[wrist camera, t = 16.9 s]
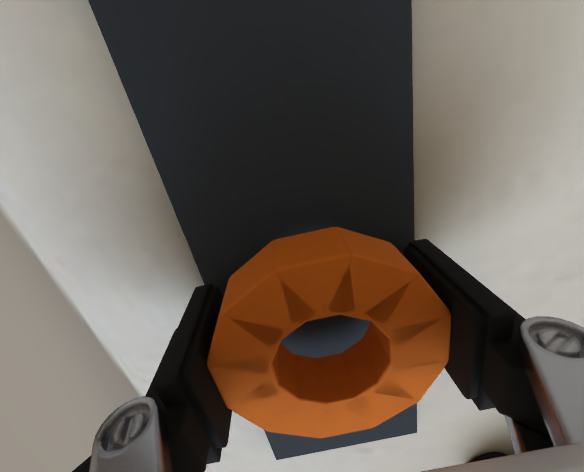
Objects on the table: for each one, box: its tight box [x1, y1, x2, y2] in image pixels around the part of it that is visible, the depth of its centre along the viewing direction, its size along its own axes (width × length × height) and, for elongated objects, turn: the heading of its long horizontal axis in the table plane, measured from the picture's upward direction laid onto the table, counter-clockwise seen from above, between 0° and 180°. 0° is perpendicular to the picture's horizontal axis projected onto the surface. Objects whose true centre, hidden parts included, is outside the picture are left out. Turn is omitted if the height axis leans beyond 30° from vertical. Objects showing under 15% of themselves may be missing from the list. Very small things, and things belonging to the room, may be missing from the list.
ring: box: [206, 227, 451, 438], centre depth 8 cm, size 7×7×2 cm
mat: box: [89, 0, 417, 460], centre depth 11 cm, size 22×8×1 cm, turn 11°
